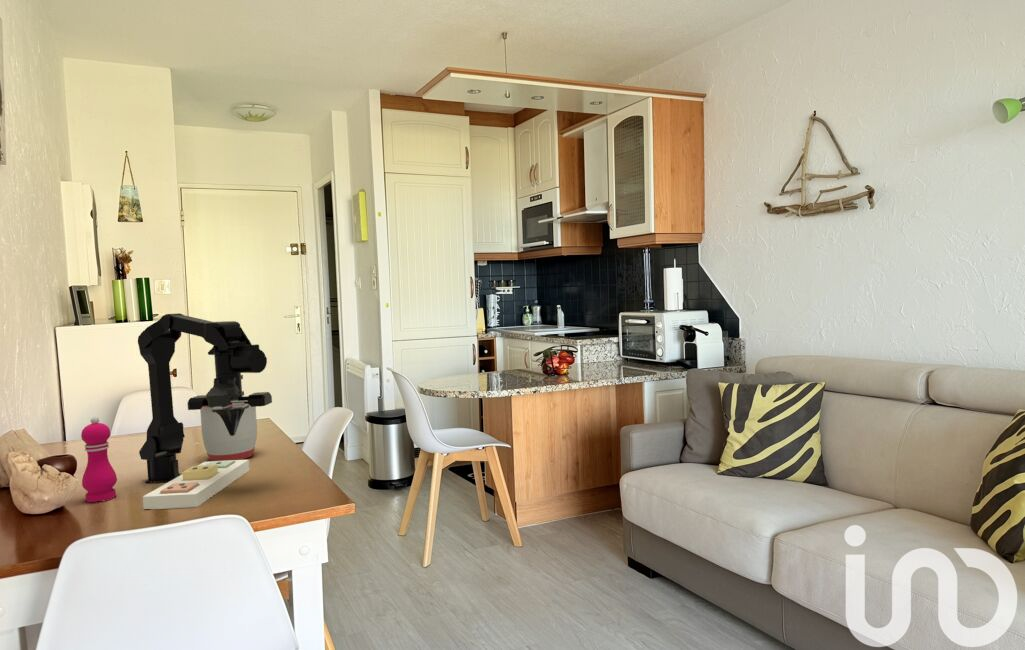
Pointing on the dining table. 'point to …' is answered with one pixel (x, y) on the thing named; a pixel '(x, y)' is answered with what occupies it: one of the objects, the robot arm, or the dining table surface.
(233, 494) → the dining table surface
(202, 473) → the tile
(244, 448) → the citrus juicer
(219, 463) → the tile
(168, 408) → the robot arm
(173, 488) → the three-pip tile
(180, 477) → the rail
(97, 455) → the pepper mill
